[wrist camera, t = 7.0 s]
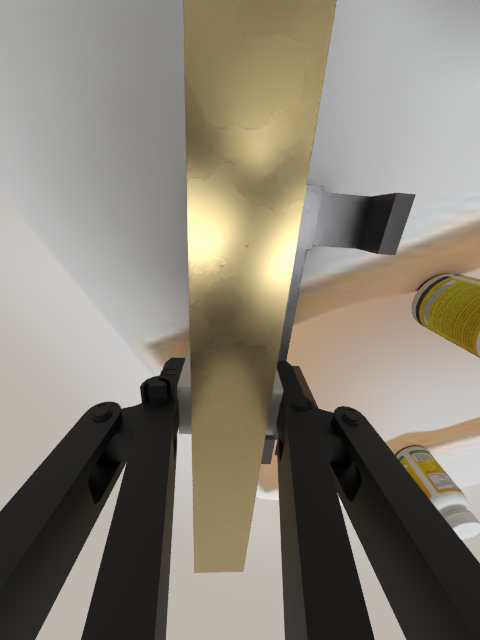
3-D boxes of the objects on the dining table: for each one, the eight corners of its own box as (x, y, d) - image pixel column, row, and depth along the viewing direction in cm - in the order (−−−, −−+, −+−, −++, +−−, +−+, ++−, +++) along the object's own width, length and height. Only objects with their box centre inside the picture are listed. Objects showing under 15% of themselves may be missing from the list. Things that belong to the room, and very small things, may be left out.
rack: (269, 192, 21) (303, 172, 11) (334, 198, 21) (421, 183, 11) (248, 386, 30) (257, 467, 20) (294, 388, 30) (324, 468, 20)
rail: (204, 87, 8) (182, -23, 4) (288, 97, 8) (336, -1, 5) (201, 499, 18) (194, 572, 14) (240, 499, 18) (243, 571, 14)
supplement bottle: (417, 439, 35) (480, 514, 26) (432, 455, 37) (495, 530, 28) (386, 457, 36) (435, 533, 28) (402, 471, 38) (453, 547, 29)
